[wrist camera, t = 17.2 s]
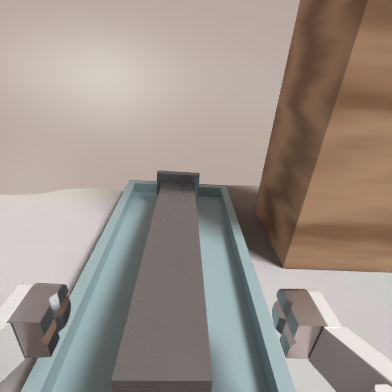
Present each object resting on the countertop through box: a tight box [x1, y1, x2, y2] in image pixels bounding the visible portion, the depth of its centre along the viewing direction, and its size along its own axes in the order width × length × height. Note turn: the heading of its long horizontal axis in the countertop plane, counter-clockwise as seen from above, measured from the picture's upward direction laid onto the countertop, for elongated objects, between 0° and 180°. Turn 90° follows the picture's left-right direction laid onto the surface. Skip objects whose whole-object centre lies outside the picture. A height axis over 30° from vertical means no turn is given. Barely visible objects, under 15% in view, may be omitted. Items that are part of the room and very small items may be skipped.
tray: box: [21, 180, 296, 392], centre depth 20 cm, size 24×12×2 cm, turn 2°
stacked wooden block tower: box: [255, 0, 392, 272], centre depth 20 cm, size 10×10×28 cm
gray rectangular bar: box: [111, 171, 213, 392], centre depth 18 cm, size 20×4×4 cm, turn 2°
